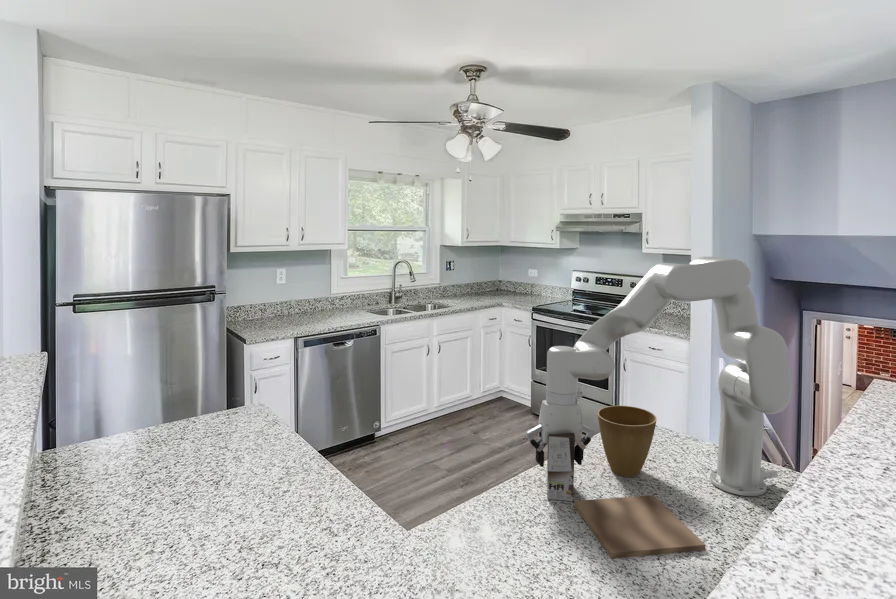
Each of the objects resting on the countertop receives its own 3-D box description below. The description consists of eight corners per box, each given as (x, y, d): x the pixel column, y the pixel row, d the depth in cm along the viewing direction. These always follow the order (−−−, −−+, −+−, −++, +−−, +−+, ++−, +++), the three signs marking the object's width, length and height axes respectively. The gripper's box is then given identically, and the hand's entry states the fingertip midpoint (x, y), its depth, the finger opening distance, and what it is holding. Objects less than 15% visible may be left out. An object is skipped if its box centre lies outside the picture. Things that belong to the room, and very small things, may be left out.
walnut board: (653, 499, 122) (653, 494, 122) (705, 550, 102) (705, 544, 102) (574, 505, 119) (574, 500, 119) (611, 558, 100) (611, 553, 100)
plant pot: (595, 456, 146) (597, 403, 144) (650, 462, 142) (653, 407, 140) (596, 480, 132) (598, 421, 130) (657, 487, 128) (660, 427, 126)
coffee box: (573, 502, 121) (575, 437, 119) (546, 499, 122) (547, 435, 120) (572, 483, 130) (573, 423, 128) (547, 481, 131) (548, 422, 129)
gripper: (589, 391, 128) (586, 455, 130) (522, 393, 126) (521, 458, 128) (601, 400, 121) (598, 468, 123) (531, 403, 118) (529, 472, 121)
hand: (559, 463), depth 125 cm, fingers open, 9 cm apart
